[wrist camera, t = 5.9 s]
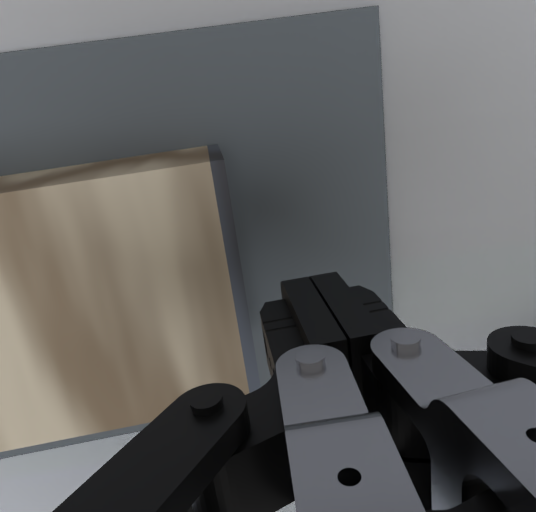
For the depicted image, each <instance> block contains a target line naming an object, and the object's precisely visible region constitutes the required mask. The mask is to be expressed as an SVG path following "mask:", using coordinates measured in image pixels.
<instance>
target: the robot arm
mask: <svg viewBox="0 0 536 512" xmlns="http://www.w3.org/2000/svg"><path fill="white" fill-rule="evenodd" d="M281 295H282V299H280V300H275V301H269V302H265V303H264V305H263V307H262V309H261V311H260V318H261V325H262V331H263V338H264V344H265V351H266V358H267V364H268V367H269V371H270V375H271V379H270V380H269V381H268V382H267V383H266V384H265V385H263V386H262V387H260V388H259V389H257V390H255V391H253V392H251V393H249V394H246V395H245V394H244V393H243V391H242V390H240V389H239V388H238V387H236V386H234V385H231V384H226V383H210V384H205V385H201V386H198V387H195V388H192V389H190V390H188V391H187V392H185V393H183V394H182V395H181V396H179V397H178V398H177V399H176V400H175V401H174V402H173V403H171V404H170V405H169V406H168V407H167V408H166V409H165V410H164V411H163V412H162V413H160V414H159V415H158V416H157V417H156V418H155V419H154V420H153V421H152V422H151V423H149V424H148V425H147V426H146V427H145V428H144V429H143V430H142V431H141V432H140V433H138V434H137V435H136V436H135V437H134V438H133V439H132V440H131V441H130V442H129V443H127V444H126V445H125V446H124V447H123V448H122V449H121V450H120V451H119V452H118V453H116V454H115V455H114V456H113V457H112V458H111V459H110V460H109V461H108V462H107V463H105V464H104V465H103V466H102V467H101V468H100V469H99V470H98V471H97V472H96V473H94V474H93V475H92V476H91V477H90V478H89V479H88V480H87V481H86V482H85V483H83V484H82V485H81V486H80V487H79V488H78V489H77V490H76V491H75V492H74V493H72V494H71V495H70V496H69V497H68V498H67V499H66V500H65V501H64V502H63V503H61V504H60V505H59V506H58V507H57V508H56V509H55V510H54V511H53V512H275V511H277V510H279V509H281V508H282V507H284V506H286V505H288V504H290V503H291V502H293V501H295V505H296V512H536V328H535V327H528V326H510V327H504V328H500V329H497V330H495V331H493V332H492V333H491V334H489V336H488V338H487V351H454V350H453V349H451V348H450V347H449V346H448V345H447V344H445V343H444V342H443V341H442V340H441V339H439V338H438V337H437V336H436V335H434V334H432V333H430V332H428V331H425V330H421V329H416V328H407V327H406V326H405V325H404V324H403V323H402V322H401V321H400V320H399V319H398V317H397V316H396V315H395V314H394V313H393V312H392V311H391V310H390V309H388V307H387V305H386V304H385V303H384V302H382V300H381V299H380V298H379V297H378V296H377V295H376V293H375V292H374V291H371V290H369V289H367V288H364V287H362V286H360V285H358V286H352V287H349V286H348V285H347V284H346V282H345V281H344V280H343V279H342V278H341V276H340V275H339V274H338V273H337V272H330V273H324V274H319V275H313V276H309V277H302V278H296V279H291V280H285V281H281Z"/></svg>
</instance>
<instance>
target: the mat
mask: <svg viewBox="0 0 536 512" xmlns="http://www.w3.org/2000/svg"><path fill="white" fill-rule="evenodd" d="M215 144H218V146H219V148H220V151H221V153H222V156H223V158H224V162H225V168H226V174H227V180H228V187H229V193H230V199H231V205H232V211H233V218H234V224H235V230H236V236H237V243H238V249H239V255H240V261H241V267H242V274H243V280H244V286H245V292H246V298H247V305H248V311H249V317H250V323H251V330H252V336H253V342H254V348H255V354H256V361H257V367H258V373H259V379H260V385H261V387H262V386H263V385H265V384H266V383H267V382H268V381H269V380H270V379H271V375H270V371H269V367H268V364H267V358H266V351H265V344H264V338H263V331H262V325H261V318H260V311H261V309H262V307H263V305H264V303H265V302H269V301H275V300H280V299H282V295H281V281H285V280H291V279H296V278H302V277H309V276H313V275H319V274H324V273H330V272H337V273H338V274H339V275H340V276H341V278H342V279H343V280H344V281H345V282H346V284H347V285H348V286H349V287H352V286H358V285H360V286H362V287H364V288H367V289H369V290H371V291H374V292H375V293H376V295H377V296H378V297H379V298H380V299H381V300H382V302H384V303H385V304H386V305H387V307H388V309H390V310H391V311H392V312H393V302H392V281H391V260H390V239H389V217H388V196H387V175H386V154H385V132H384V111H383V90H382V69H381V48H380V26H379V5H378V6H370V7H363V8H355V9H347V10H339V11H331V12H323V13H315V14H307V15H299V16H291V17H283V18H275V19H267V20H259V21H251V22H243V23H235V24H227V25H219V26H211V27H203V28H195V29H187V30H179V31H171V32H163V33H156V34H148V35H140V36H132V37H124V38H116V39H108V40H100V41H92V42H84V43H76V44H68V45H60V46H52V47H44V48H36V49H28V50H20V51H12V52H4V53H0V176H5V175H12V174H19V173H26V172H32V171H39V170H46V169H53V168H59V167H66V166H73V165H80V164H86V163H93V162H100V161H107V160H113V159H120V158H127V157H134V156H140V155H147V154H154V153H161V152H167V151H174V150H181V149H188V148H194V147H201V146H208V145H215ZM150 423H151V422H150ZM148 424H149V423H145V424H140V425H135V426H130V427H124V428H119V429H114V430H109V431H104V432H99V433H94V434H89V435H84V436H79V437H74V438H69V439H64V440H59V441H54V442H49V443H44V444H39V445H34V446H29V447H24V448H19V449H14V450H9V451H4V452H0V459H3V458H8V457H13V456H18V455H23V454H28V453H33V452H38V451H43V450H48V449H53V448H58V447H63V446H68V445H73V444H78V443H83V442H88V441H93V440H98V439H103V438H108V437H113V436H118V435H123V434H128V433H133V432H138V431H142V430H143V429H144V428H145V427H146V426H147V425H148Z"/></svg>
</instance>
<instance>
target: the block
mask: <svg viewBox="0 0 536 512" xmlns="http://www.w3.org/2000/svg"><path fill="white" fill-rule="evenodd" d="M210 383H226V384H231V385H234V386H236V387H238V388H239V389H240V390H242V391H243V393H244V394H245V395H246V394H249V393H251V392H253V391H255V390H257V389H259V388H260V387H261V385H260V379H259V373H258V367H257V361H256V354H255V348H254V342H253V336H252V330H251V323H250V317H249V311H248V305H247V298H246V292H245V286H244V280H243V274H242V267H241V261H240V255H239V249H238V243H237V236H236V230H235V224H234V218H233V211H232V205H231V199H230V193H229V187H228V180H227V174H226V168H225V162H224V158H223V156H222V153H221V151H220V148H219V146H218V144H215V145H208V146H201V147H194V148H188V149H181V150H174V151H167V152H161V153H154V154H147V155H140V156H134V157H127V158H120V159H113V160H107V161H100V162H93V163H86V164H80V165H73V166H66V167H59V168H53V169H46V170H39V171H32V172H26V173H19V174H12V175H5V176H0V452H4V451H9V450H14V449H19V448H24V447H29V446H34V445H39V444H44V443H49V442H54V441H59V440H64V439H69V438H74V437H79V436H84V435H89V434H94V433H99V432H104V431H109V430H114V429H119V428H124V427H130V426H135V425H140V424H145V423H150V422H152V421H153V420H154V419H155V418H156V417H157V416H158V415H159V414H160V413H162V412H163V411H164V410H165V409H166V408H167V407H168V406H169V405H170V404H171V403H173V402H174V401H175V400H176V399H177V398H178V397H179V396H181V395H182V394H183V393H185V392H187V391H188V390H190V389H192V388H195V387H198V386H201V385H205V384H210Z"/></svg>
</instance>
